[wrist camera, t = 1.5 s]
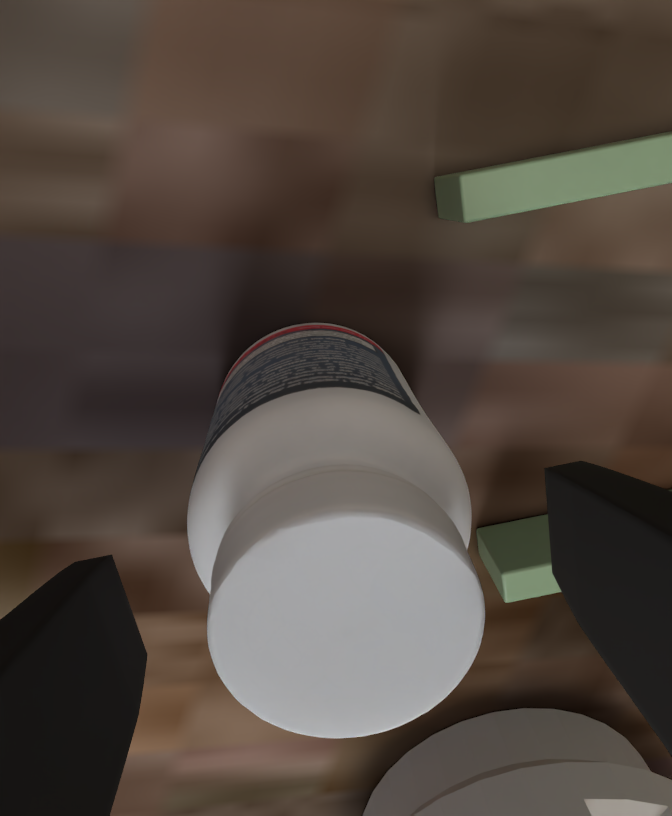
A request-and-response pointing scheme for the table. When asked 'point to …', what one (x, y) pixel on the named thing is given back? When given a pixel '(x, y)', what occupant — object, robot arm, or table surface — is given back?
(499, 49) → the table surface
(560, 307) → the table surface
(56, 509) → the table surface
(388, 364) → the pill bottle
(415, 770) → the flag stand
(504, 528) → the holder
